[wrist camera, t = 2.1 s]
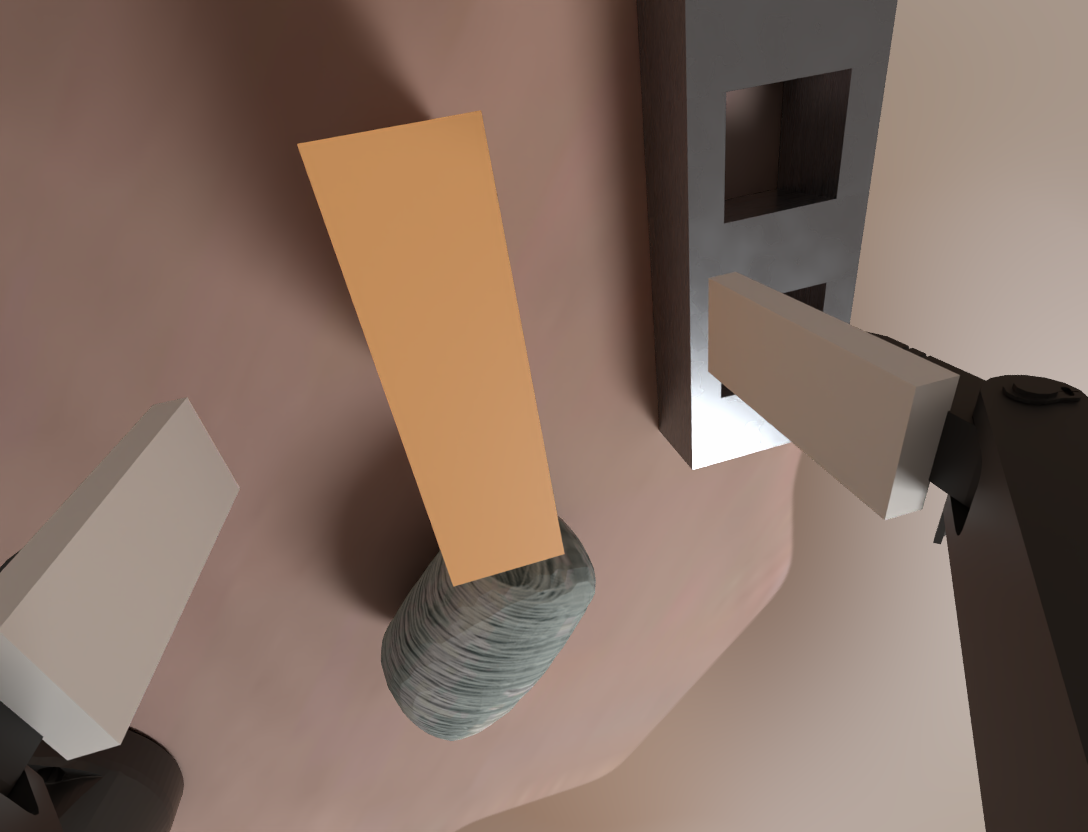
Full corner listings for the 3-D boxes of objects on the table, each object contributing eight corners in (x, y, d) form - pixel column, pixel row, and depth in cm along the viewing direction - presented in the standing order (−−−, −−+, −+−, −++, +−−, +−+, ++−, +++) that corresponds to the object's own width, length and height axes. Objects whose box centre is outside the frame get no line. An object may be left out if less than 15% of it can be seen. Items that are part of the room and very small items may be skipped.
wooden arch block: (433, 406, 26) (453, 586, 16) (351, 135, 20) (297, 144, 10) (502, 389, 27) (564, 553, 16) (441, 118, 20) (481, 110, 10)
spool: (465, 457, 24) (556, 681, 19) (582, 470, 31) (668, 634, 27) (318, 593, 30) (360, 790, 25) (445, 577, 37) (497, 727, 33)
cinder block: (659, 430, 30) (692, 469, 27) (636, -11, 20) (684, -39, 17) (786, 396, 31) (833, 429, 28) (825, -41, 21) (908, -73, 18)
